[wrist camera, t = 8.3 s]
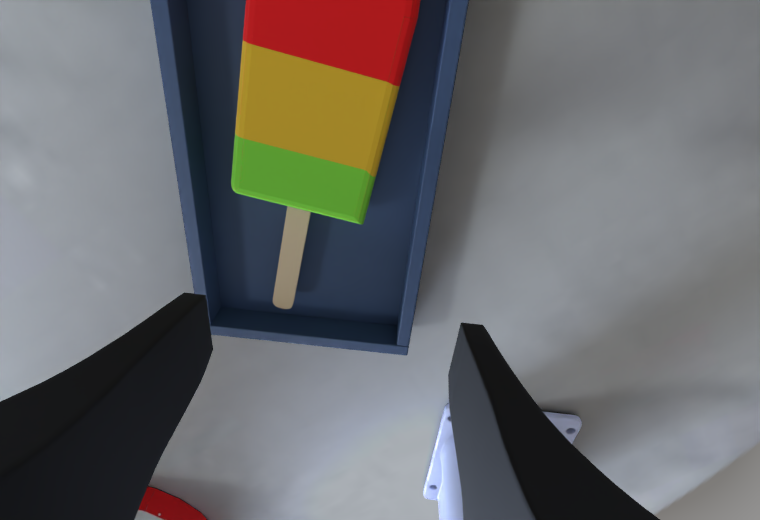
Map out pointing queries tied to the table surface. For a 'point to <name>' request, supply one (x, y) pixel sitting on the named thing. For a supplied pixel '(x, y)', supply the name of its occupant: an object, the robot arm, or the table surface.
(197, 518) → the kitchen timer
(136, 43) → the table surface
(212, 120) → the tray
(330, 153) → the popsicle
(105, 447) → the robot arm
